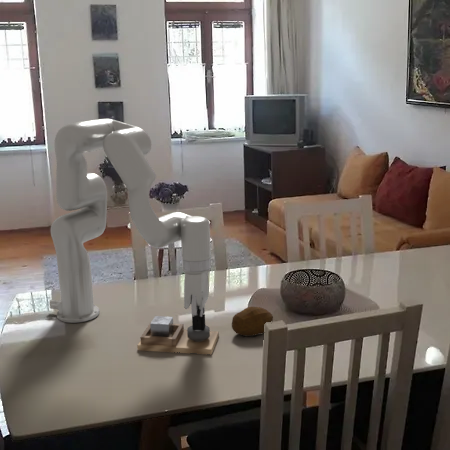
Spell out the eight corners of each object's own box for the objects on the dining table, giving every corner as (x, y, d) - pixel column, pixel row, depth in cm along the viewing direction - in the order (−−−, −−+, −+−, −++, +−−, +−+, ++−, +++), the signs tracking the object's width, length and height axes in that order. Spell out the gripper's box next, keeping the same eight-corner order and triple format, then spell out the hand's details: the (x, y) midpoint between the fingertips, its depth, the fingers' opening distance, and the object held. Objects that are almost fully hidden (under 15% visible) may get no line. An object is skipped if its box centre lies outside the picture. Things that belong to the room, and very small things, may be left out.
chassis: (137, 350, 163) (136, 338, 162) (149, 332, 174) (148, 321, 173) (211, 354, 160) (211, 342, 159) (218, 336, 171) (218, 324, 170)
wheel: (185, 340, 163) (185, 333, 162) (190, 330, 169) (189, 323, 168) (207, 341, 162) (207, 334, 162) (211, 331, 168) (211, 324, 167)
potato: (226, 332, 173) (225, 307, 171) (263, 323, 179) (263, 298, 177) (241, 343, 166) (240, 317, 164) (279, 333, 172) (279, 307, 170)
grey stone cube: (151, 340, 165) (150, 323, 164) (156, 332, 170) (155, 316, 169) (169, 341, 165) (168, 324, 163) (173, 333, 169) (172, 316, 168)
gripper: (188, 254, 168) (191, 317, 172) (175, 273, 154) (178, 340, 158) (215, 255, 167) (217, 318, 171) (205, 274, 152) (207, 342, 157)
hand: (199, 328), depth 165 cm, fingers closed
